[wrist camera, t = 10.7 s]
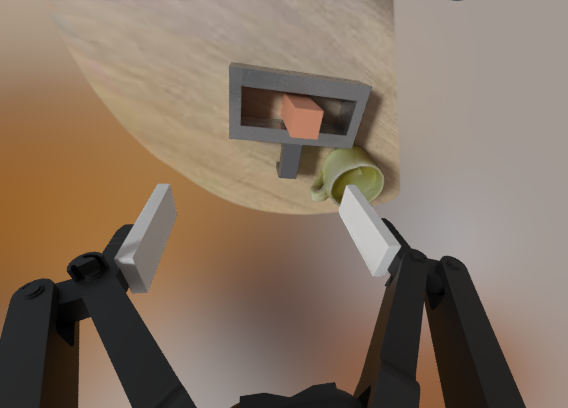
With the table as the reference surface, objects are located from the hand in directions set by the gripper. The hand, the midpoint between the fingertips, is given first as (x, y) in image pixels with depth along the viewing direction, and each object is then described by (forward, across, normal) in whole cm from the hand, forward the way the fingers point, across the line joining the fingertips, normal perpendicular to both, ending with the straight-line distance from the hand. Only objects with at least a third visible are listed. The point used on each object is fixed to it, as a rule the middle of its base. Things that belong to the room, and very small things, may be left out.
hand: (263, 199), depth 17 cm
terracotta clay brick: (+23, +6, +2) cm, 24 cm away
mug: (+23, +16, -9) cm, 30 cm away
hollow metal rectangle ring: (+23, +6, -1) cm, 24 cm away
